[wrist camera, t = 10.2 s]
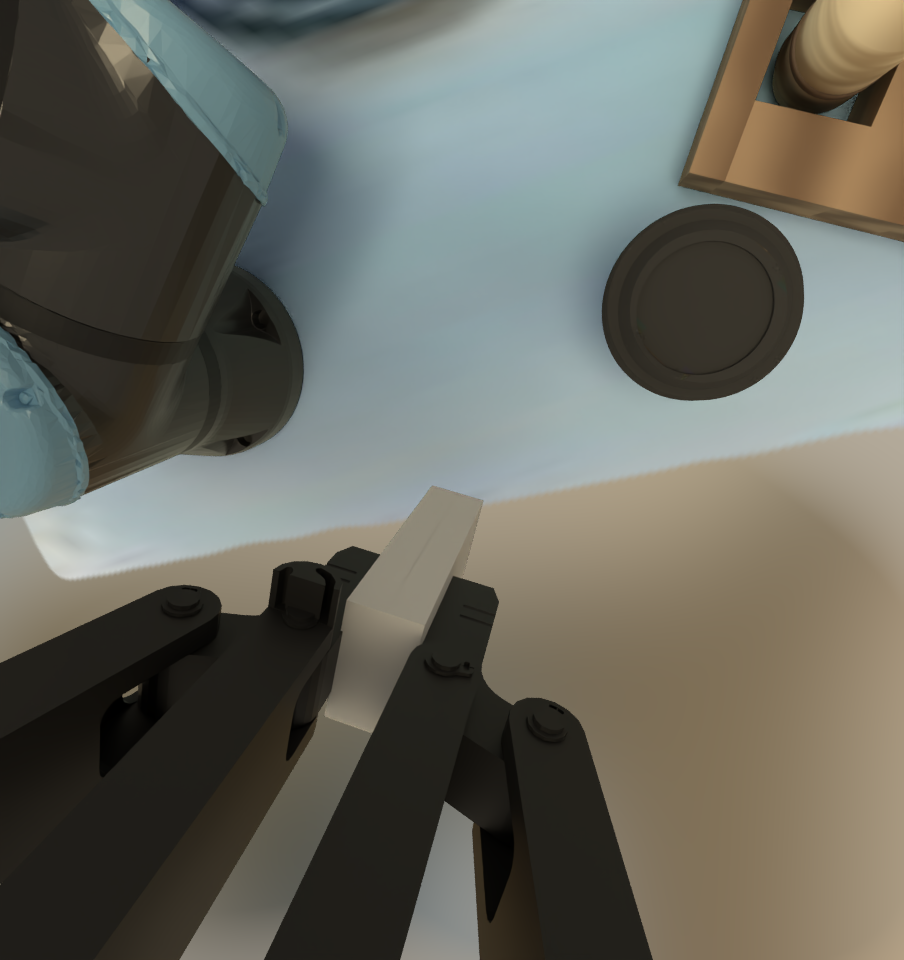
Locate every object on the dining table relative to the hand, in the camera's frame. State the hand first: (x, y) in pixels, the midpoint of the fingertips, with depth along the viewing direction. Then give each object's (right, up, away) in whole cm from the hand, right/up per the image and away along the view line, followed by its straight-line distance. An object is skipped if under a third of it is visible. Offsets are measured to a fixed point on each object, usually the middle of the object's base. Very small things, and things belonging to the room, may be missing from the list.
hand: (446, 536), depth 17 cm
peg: (+21, +25, +18) cm, 37 cm away
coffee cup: (+15, +14, +24) cm, 31 cm away
